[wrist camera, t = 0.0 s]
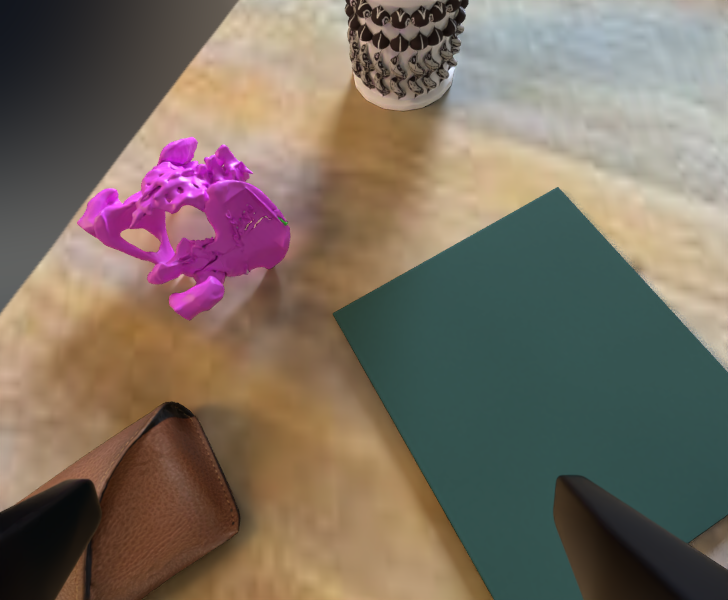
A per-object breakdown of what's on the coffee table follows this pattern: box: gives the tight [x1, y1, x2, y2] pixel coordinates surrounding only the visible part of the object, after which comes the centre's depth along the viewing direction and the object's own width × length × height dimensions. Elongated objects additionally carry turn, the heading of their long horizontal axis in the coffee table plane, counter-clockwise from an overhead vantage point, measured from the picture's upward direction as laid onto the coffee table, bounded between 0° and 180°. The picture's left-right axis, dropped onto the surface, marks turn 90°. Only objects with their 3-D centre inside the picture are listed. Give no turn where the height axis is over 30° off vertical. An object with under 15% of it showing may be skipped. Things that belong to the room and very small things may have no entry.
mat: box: [333, 187, 728, 600], centre depth 21 cm, size 20×18×1 cm
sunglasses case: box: [15, 402, 240, 600], centre depth 19 cm, size 18×7×7 cm, turn 127°
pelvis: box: [77, 137, 290, 320], centre depth 23 cm, size 12×10×7 cm
